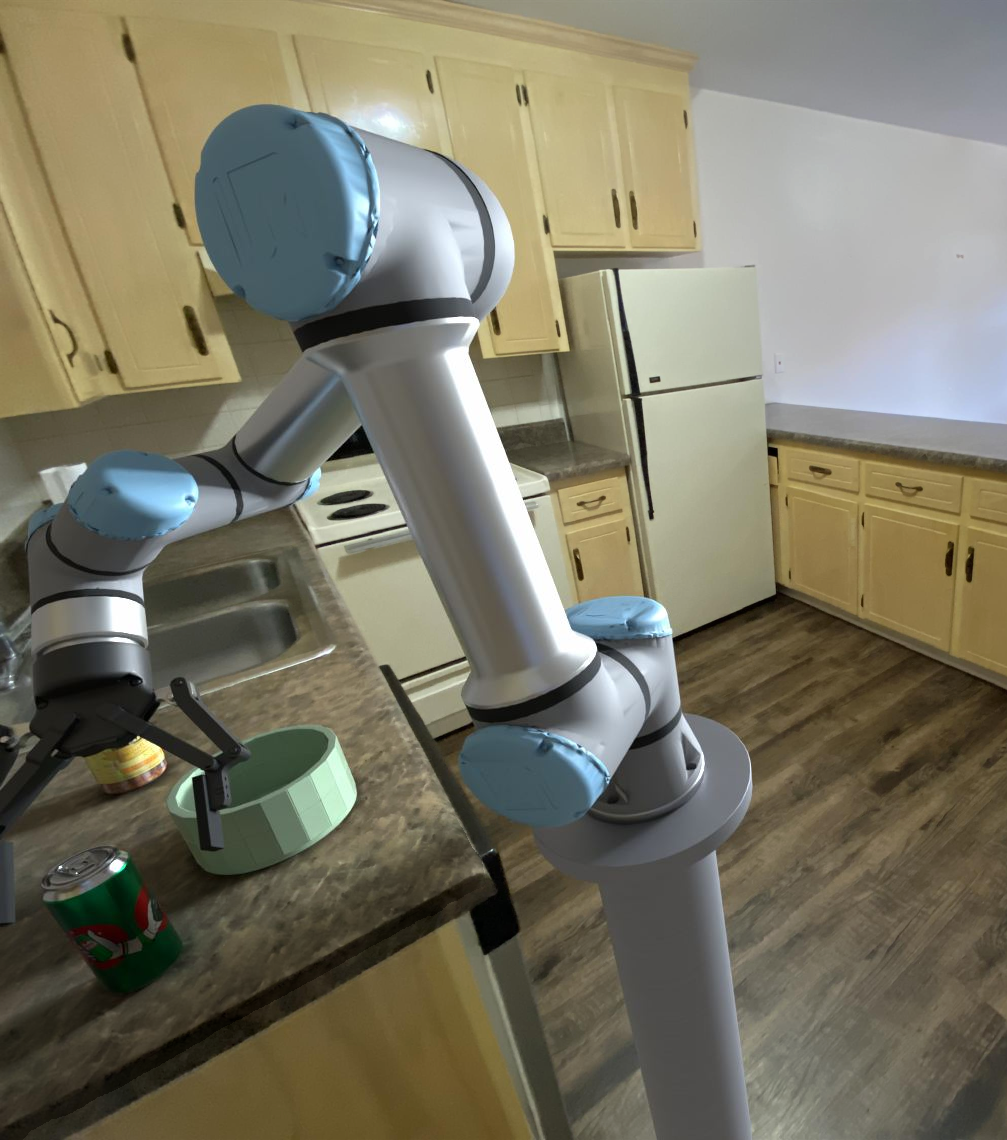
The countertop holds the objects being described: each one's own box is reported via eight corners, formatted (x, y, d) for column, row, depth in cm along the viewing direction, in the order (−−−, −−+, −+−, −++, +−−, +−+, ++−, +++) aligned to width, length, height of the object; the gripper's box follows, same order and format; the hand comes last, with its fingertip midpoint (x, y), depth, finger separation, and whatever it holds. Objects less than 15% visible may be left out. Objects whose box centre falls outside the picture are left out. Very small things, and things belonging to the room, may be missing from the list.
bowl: (358, 759, 78) (339, 710, 75) (355, 833, 66) (332, 778, 63) (213, 807, 72) (186, 755, 69) (181, 899, 60) (146, 840, 57)
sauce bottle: (142, 794, 75) (60, 651, 67) (89, 799, 75) (1, 656, 67) (185, 758, 81) (114, 623, 73) (135, 763, 81) (59, 628, 73)
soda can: (166, 934, 56) (104, 833, 52) (198, 951, 54) (136, 849, 50) (94, 986, 52) (20, 882, 48) (127, 1007, 50) (52, 901, 46)
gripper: (268, 631, 67) (302, 825, 60) (-66, 710, 56) (-69, 958, 49) (240, 604, 61) (275, 817, 54) (-143, 687, 50) (-158, 968, 43)
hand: (111, 885), depth 52 cm, fingers open, 13 cm apart
